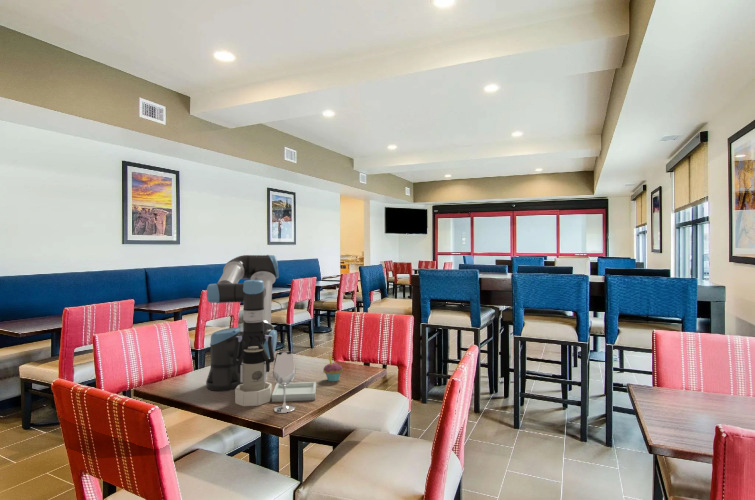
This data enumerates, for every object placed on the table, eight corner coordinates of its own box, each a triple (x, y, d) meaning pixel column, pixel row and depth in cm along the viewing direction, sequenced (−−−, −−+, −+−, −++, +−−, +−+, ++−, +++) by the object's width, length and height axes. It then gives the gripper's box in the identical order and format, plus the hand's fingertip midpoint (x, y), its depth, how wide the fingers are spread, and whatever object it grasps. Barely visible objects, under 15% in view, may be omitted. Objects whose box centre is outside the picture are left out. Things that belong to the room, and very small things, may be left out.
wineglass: (287, 414, 143) (287, 356, 143) (268, 411, 146) (268, 354, 146) (299, 406, 150) (299, 351, 150) (281, 403, 153) (281, 349, 153)
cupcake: (330, 384, 175) (330, 355, 175) (319, 379, 182) (319, 352, 182) (346, 380, 181) (346, 352, 181) (335, 375, 187) (335, 349, 187)
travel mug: (242, 393, 160) (242, 347, 160) (263, 391, 163) (263, 345, 162) (243, 400, 152) (243, 352, 152) (266, 398, 155) (265, 350, 155)
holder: (232, 406, 150) (232, 392, 150) (240, 394, 163) (240, 381, 163) (268, 405, 152) (268, 391, 152) (273, 393, 164) (273, 380, 164)
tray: (271, 401, 155) (271, 395, 155) (276, 389, 169) (276, 383, 169) (314, 400, 157) (314, 393, 157) (316, 387, 171) (316, 381, 171)
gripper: (222, 323, 152) (223, 385, 153) (280, 322, 155) (280, 383, 155) (227, 319, 160) (228, 378, 160) (282, 318, 162) (282, 376, 162)
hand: (253, 380), depth 157 cm, fingers closed on travel mug, 8 cm apart
